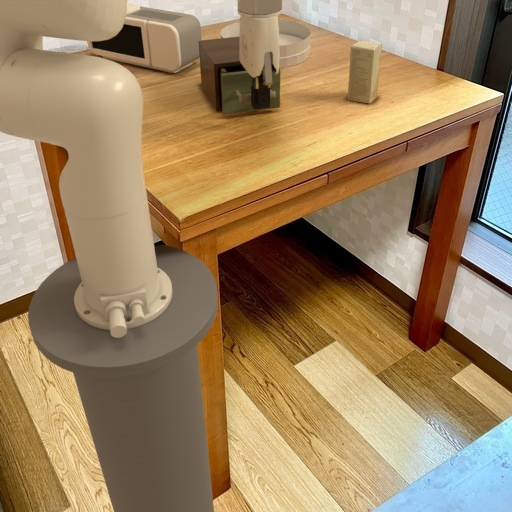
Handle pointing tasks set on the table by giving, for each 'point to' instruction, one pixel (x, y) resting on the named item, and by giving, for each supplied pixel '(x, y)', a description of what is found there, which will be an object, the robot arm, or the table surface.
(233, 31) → the dish
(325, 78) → the table surface
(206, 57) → the cabinet
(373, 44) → the box
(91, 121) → the robot arm
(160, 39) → the alarm clock
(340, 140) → the table surface
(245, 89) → the drawer
